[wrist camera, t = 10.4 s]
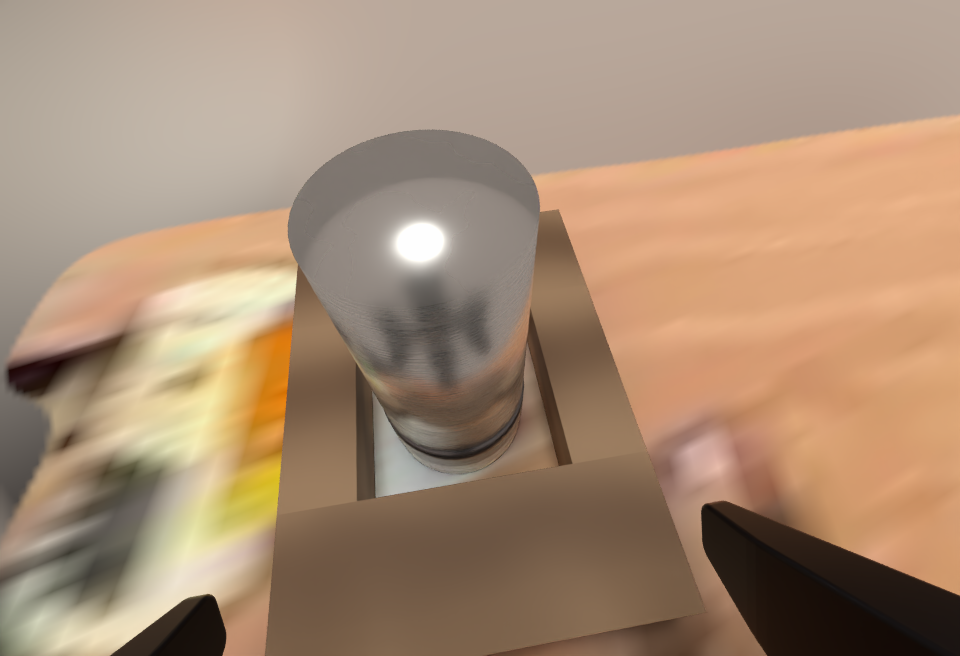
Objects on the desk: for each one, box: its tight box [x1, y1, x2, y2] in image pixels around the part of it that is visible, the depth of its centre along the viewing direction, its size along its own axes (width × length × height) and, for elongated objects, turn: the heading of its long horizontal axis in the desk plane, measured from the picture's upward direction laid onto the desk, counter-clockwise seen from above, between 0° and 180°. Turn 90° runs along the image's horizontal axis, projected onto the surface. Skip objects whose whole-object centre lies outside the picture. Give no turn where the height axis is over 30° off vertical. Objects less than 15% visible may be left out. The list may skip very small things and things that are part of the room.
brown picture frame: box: [265, 210, 706, 656], centre depth 17 cm, size 16×12×2 cm
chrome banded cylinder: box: [288, 130, 540, 474], centre depth 13 cm, size 5×5×11 cm
